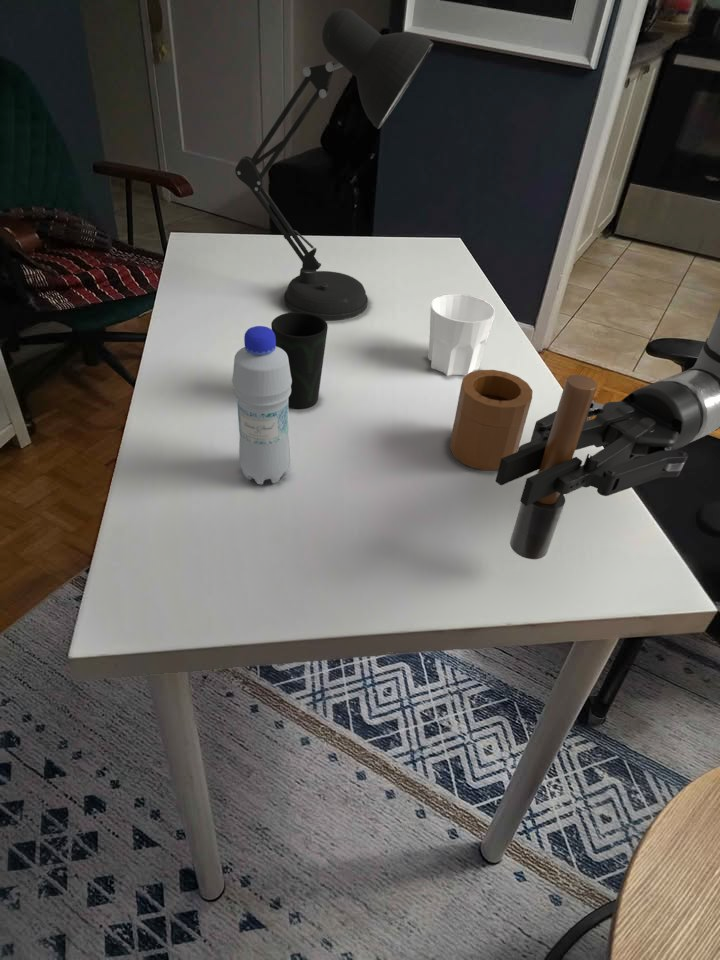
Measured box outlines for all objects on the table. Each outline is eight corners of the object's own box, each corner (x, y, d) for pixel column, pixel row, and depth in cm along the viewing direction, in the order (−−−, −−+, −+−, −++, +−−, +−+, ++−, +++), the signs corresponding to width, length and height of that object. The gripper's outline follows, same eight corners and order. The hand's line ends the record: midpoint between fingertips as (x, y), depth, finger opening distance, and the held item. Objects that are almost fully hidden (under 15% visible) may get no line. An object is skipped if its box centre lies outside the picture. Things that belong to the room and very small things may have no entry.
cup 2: (476, 349, 111) (487, 295, 105) (489, 380, 103) (501, 323, 97) (419, 348, 110) (426, 293, 104) (427, 378, 103) (436, 321, 96)
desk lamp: (423, 318, 119) (465, 20, 90) (296, 345, 108) (298, 15, 79) (356, 269, 135) (374, 2, 106) (240, 288, 124) (224, -4, 95)
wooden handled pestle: (553, 544, 69) (612, 381, 56) (538, 565, 66) (596, 399, 54) (519, 527, 70) (568, 365, 58) (503, 547, 68) (551, 382, 55)
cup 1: (265, 406, 93) (262, 331, 86) (283, 381, 99) (283, 307, 92) (315, 417, 92) (317, 341, 85) (331, 390, 98) (334, 317, 90)
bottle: (231, 485, 80) (219, 339, 67) (247, 453, 85) (239, 311, 72) (284, 494, 79) (282, 348, 66) (297, 461, 84) (298, 319, 72)
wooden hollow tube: (526, 448, 90) (543, 386, 84) (496, 479, 84) (513, 415, 78) (469, 423, 94) (482, 362, 87) (437, 451, 88) (449, 388, 81)
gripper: (720, 480, 67) (567, 565, 56) (602, 407, 77) (451, 467, 66) (753, 421, 62) (592, 500, 52) (622, 351, 72) (464, 405, 61)
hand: (513, 482), depth 59 cm, fingers closed on wooden handled pestle, 3 cm apart
